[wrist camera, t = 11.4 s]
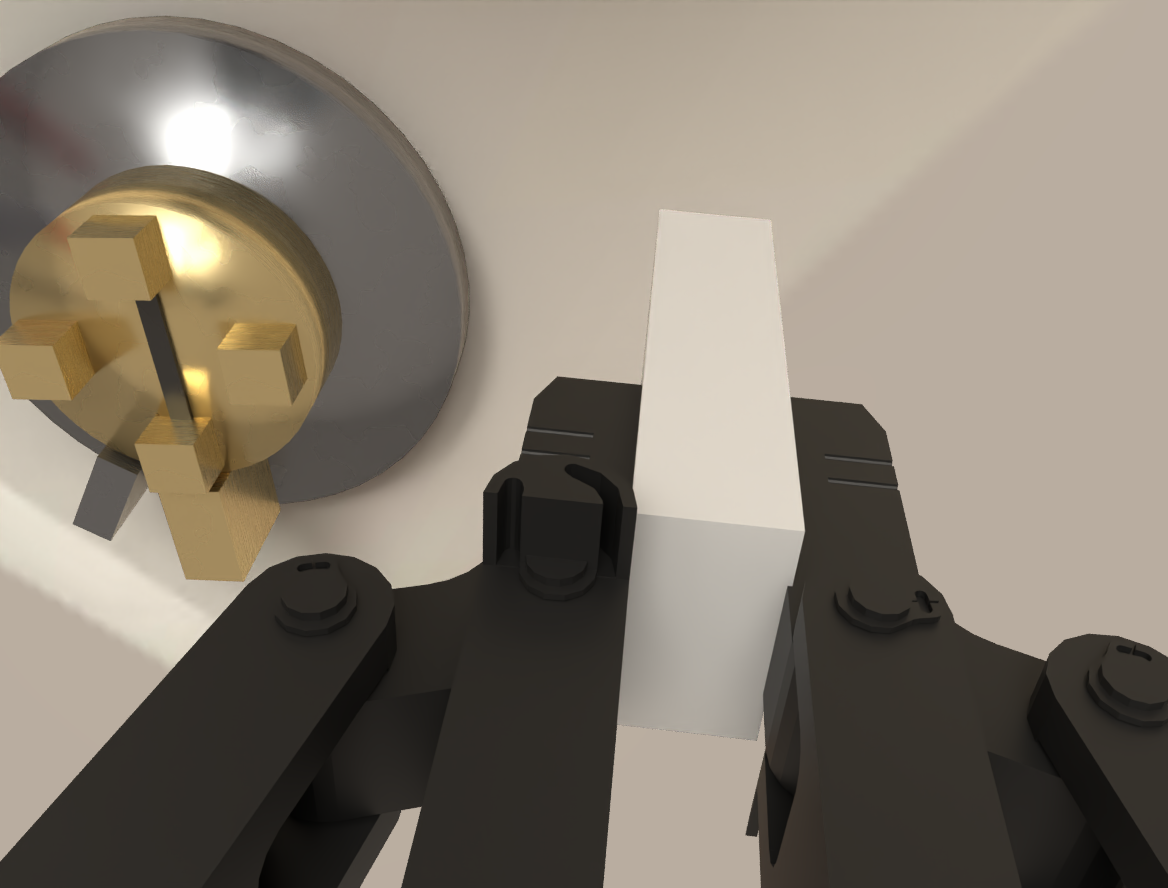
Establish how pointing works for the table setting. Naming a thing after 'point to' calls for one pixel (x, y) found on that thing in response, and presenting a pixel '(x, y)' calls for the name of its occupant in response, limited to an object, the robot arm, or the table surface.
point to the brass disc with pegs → (179, 344)
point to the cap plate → (284, 177)
